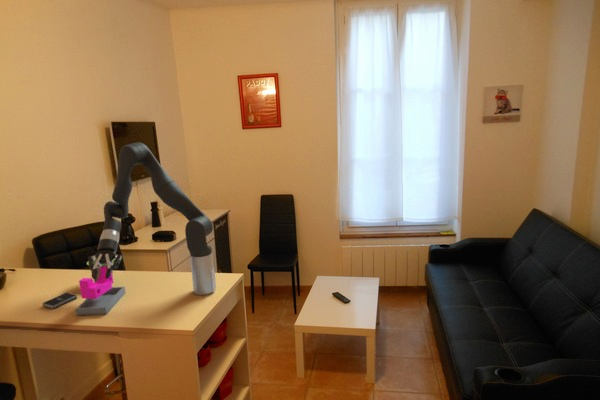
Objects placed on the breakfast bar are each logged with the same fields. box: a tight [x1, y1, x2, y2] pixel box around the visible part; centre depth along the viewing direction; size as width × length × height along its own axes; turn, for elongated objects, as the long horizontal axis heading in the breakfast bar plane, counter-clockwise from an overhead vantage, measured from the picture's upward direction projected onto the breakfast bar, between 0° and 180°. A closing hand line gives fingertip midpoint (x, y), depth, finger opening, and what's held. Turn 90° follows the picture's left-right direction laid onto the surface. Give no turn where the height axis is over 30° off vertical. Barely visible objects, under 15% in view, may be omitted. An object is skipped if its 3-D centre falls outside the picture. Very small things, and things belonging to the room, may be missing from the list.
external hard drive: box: [42, 292, 77, 310], centre depth 167 cm, size 7×11×2 cm, turn 156°
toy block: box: [78, 266, 114, 300], centre depth 162 cm, size 15×6×8 cm, turn 171°
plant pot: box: [86, 257, 116, 283], centre depth 185 cm, size 12×12×11 cm
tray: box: [75, 286, 126, 317], centre depth 164 cm, size 12×20×3 cm, turn 3°
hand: (100, 278), depth 164 cm, fingers closed on toy block, 4 cm apart
